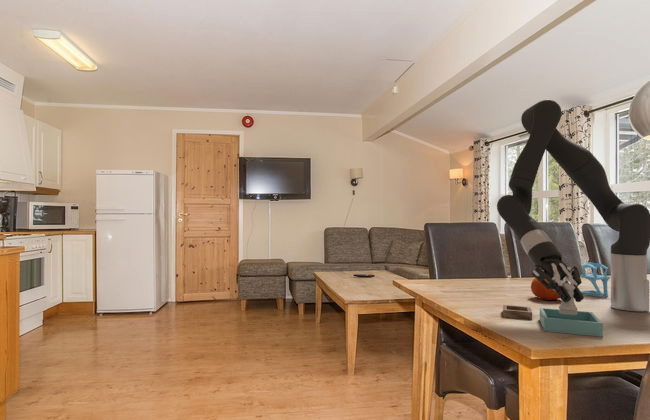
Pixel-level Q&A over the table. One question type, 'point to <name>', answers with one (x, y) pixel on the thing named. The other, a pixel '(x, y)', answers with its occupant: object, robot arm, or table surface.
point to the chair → (595, 277)
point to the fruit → (543, 291)
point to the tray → (571, 322)
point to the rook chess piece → (568, 307)
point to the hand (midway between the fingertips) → (574, 300)
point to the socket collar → (517, 312)
